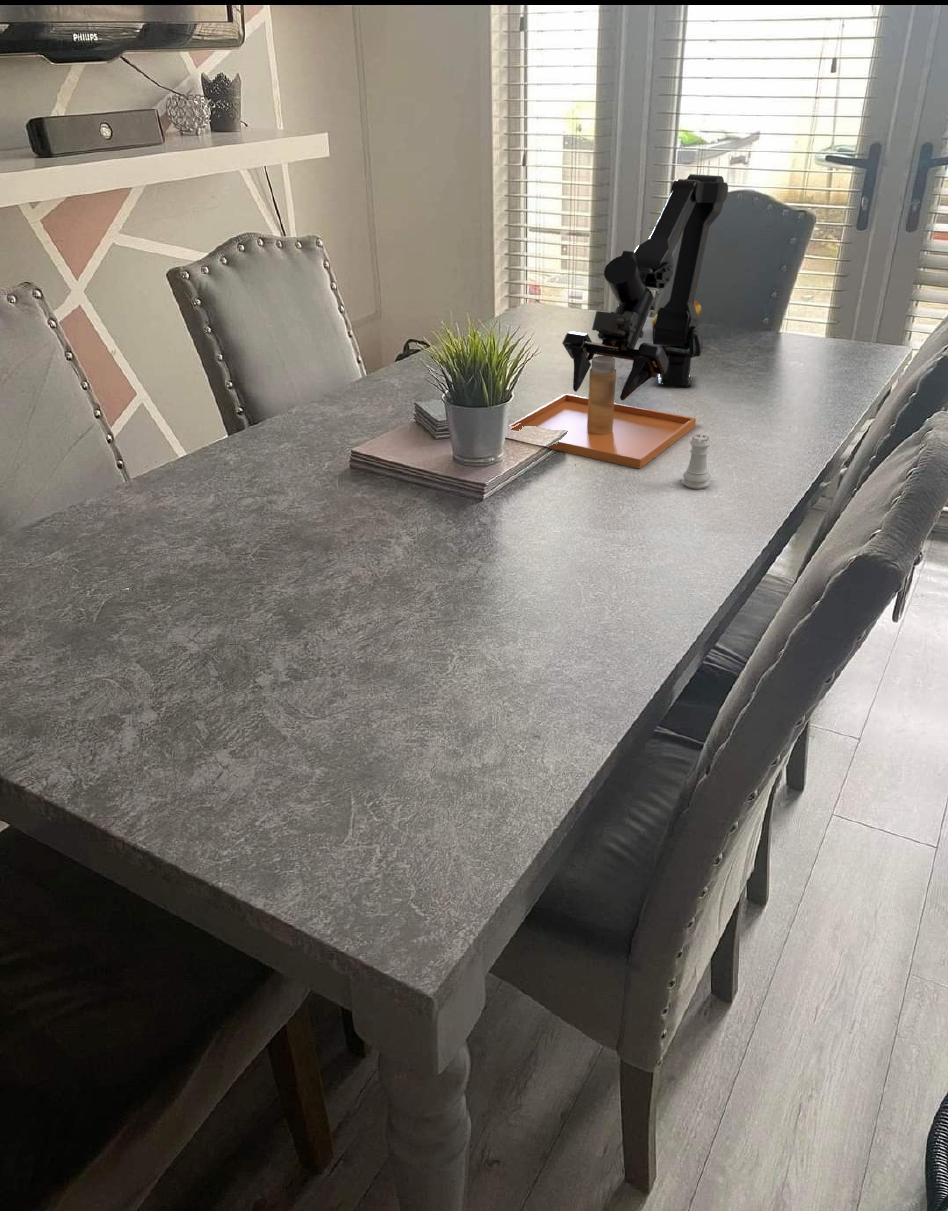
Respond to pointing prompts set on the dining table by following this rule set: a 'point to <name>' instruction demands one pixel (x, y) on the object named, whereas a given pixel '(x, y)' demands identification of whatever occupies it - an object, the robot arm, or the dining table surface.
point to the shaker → (601, 395)
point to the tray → (627, 444)
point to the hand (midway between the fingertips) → (597, 394)
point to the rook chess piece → (697, 464)
